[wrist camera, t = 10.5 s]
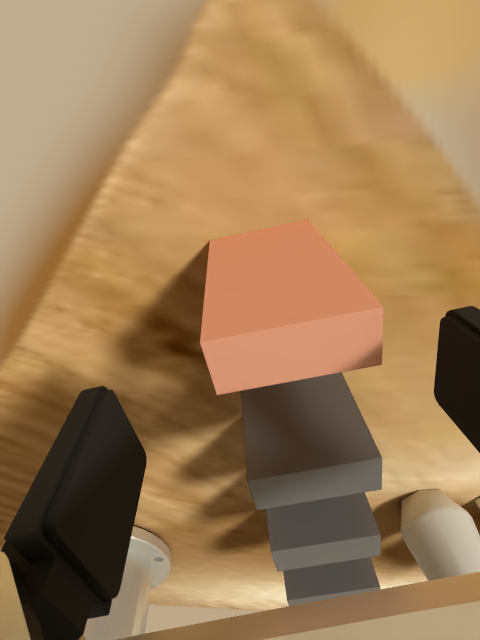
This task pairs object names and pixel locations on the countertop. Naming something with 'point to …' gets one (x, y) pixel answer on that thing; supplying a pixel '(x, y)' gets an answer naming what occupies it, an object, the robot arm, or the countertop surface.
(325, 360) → the head tile
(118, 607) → the robot arm
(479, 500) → the skincare box
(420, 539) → the salt shaker
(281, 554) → the tile
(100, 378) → the countertop surface
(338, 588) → the tile
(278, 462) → the tile
